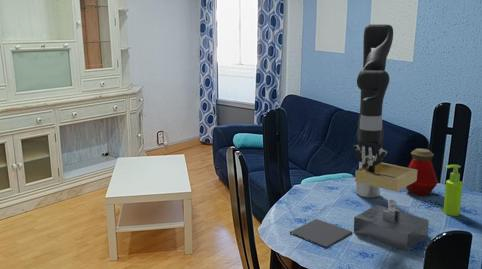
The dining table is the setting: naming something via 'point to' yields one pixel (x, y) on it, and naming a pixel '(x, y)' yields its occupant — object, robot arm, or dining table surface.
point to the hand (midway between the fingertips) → (368, 174)
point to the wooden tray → (394, 184)
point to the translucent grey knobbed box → (391, 226)
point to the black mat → (321, 232)
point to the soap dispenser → (453, 192)
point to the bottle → (422, 173)
